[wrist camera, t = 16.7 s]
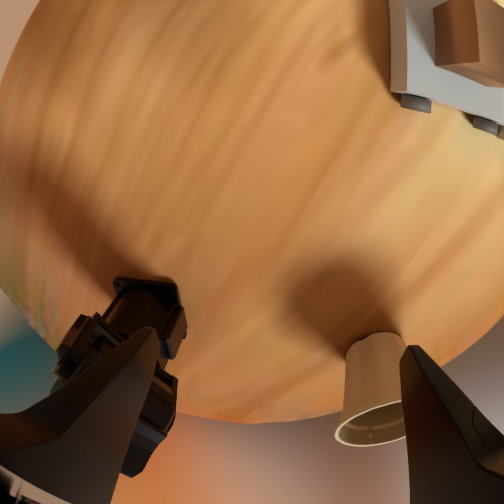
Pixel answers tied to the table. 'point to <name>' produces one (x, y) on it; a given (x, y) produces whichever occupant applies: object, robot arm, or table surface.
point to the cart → (434, 69)
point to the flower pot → (372, 392)
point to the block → (471, 40)
